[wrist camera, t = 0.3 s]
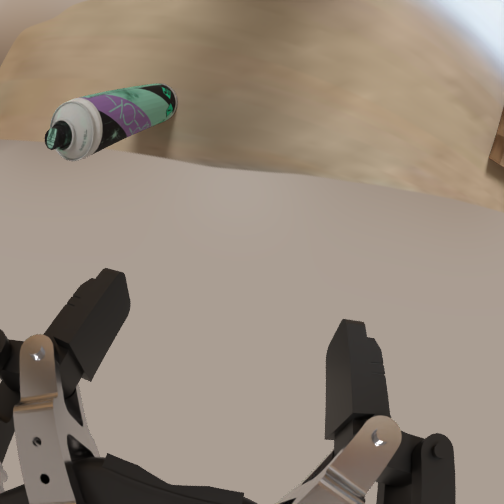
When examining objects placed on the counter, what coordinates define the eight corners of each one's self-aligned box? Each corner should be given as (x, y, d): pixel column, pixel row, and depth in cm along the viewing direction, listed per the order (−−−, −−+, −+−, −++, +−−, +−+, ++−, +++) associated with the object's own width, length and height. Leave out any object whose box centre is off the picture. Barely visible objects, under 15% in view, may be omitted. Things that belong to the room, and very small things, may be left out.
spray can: (145, 125, 35) (41, 178, 19) (137, 89, 32) (24, 119, 16) (181, 117, 34) (83, 164, 18) (173, 78, 31) (65, 95, 15)
